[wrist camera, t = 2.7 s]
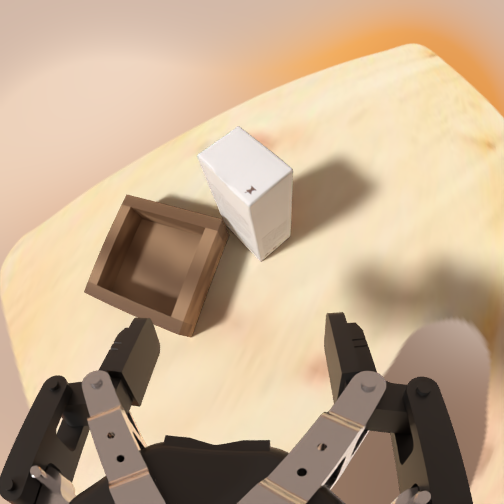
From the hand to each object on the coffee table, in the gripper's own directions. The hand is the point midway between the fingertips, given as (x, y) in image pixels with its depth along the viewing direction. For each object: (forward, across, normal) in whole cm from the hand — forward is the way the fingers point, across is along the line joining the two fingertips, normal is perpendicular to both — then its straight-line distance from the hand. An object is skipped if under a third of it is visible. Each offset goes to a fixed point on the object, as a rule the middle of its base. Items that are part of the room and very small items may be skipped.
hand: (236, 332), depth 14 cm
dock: (+17, +11, +5) cm, 21 cm away
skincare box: (+19, 0, +3) cm, 20 cm away
